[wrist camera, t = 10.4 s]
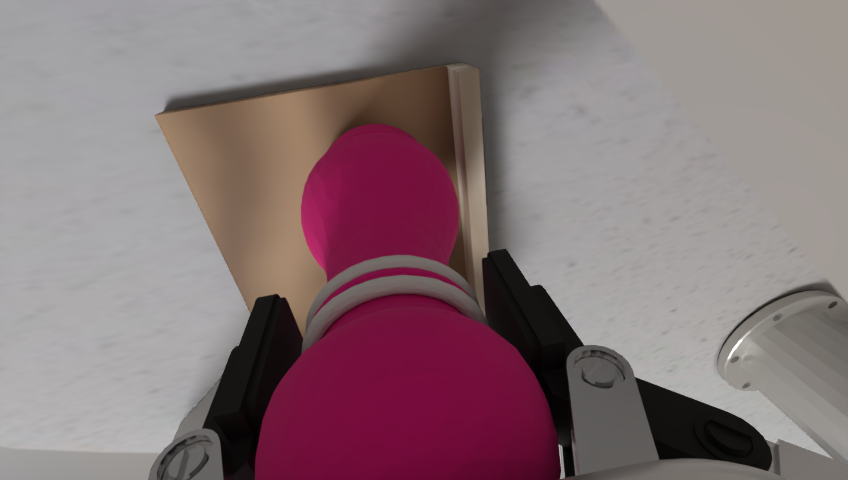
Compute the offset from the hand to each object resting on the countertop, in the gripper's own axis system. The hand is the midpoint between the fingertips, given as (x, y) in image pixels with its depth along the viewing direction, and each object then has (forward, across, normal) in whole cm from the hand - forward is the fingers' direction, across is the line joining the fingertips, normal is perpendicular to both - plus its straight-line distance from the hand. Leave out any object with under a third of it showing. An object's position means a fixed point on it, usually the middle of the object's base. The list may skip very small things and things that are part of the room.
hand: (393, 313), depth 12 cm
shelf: (+13, +2, +5) cm, 14 cm away
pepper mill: (+12, 0, 0) cm, 12 cm away
